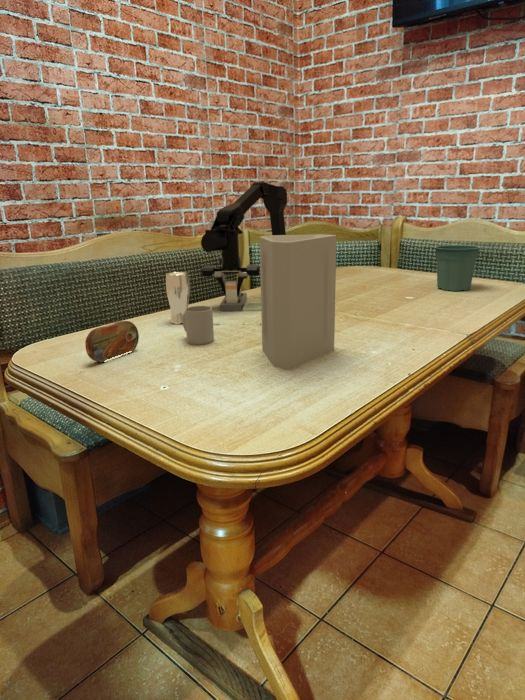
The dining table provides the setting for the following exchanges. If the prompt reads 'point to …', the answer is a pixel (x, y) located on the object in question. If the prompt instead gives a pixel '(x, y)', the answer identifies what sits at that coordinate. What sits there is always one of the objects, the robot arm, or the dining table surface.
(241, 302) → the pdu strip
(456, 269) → the flower pot
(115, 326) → the tin
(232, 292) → the plug
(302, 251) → the taupe rounded pillar
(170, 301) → the beer glass
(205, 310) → the cup
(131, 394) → the dining table surface
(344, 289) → the dining table surface
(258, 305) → the tray
